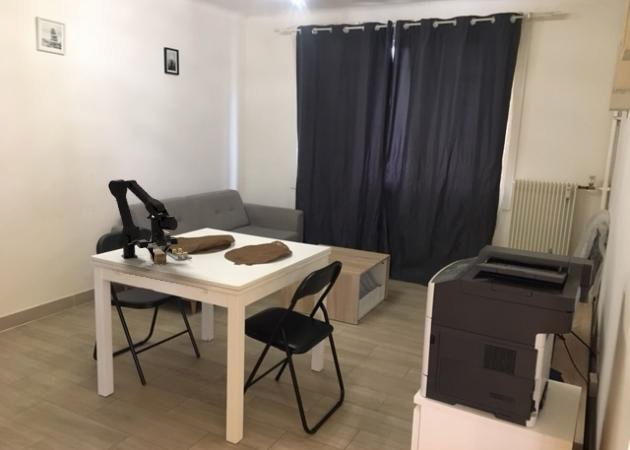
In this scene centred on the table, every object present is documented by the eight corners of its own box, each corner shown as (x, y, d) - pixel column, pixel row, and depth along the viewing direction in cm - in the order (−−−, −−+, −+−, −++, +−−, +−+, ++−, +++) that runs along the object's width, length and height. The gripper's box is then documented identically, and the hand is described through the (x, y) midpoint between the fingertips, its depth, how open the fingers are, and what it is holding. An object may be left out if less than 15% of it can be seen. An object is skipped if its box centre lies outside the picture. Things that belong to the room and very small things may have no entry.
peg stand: (168, 254, 261) (168, 249, 261) (183, 253, 266) (183, 247, 265) (176, 260, 251) (176, 254, 251) (191, 258, 256) (191, 252, 255)
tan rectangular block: (150, 259, 253) (149, 249, 252) (159, 258, 256) (158, 248, 255) (157, 265, 243) (157, 255, 242) (166, 263, 246) (166, 254, 245)
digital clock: (147, 247, 276) (147, 228, 274) (164, 245, 281) (163, 226, 279) (157, 253, 263) (156, 234, 261) (174, 251, 268) (173, 232, 266)
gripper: (142, 233, 234) (143, 265, 238) (181, 229, 245) (182, 260, 248) (135, 229, 243) (137, 260, 247) (173, 225, 254) (174, 255, 257)
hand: (158, 259), depth 249 cm, fingers closed on tan rectangular block, 4 cm apart
